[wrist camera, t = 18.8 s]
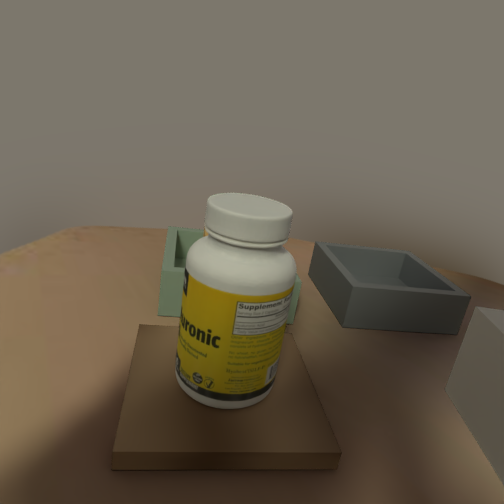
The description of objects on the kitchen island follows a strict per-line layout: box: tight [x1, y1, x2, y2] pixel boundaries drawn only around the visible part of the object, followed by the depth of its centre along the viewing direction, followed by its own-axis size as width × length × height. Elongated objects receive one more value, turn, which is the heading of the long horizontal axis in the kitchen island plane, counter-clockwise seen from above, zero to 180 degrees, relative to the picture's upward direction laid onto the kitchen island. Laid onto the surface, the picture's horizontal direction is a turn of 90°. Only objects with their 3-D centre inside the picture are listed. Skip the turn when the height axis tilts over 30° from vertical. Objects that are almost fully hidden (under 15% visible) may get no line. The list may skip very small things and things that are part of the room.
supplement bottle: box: [175, 193, 296, 409], centre depth 21 cm, size 5×5×10 cm
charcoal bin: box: [308, 242, 471, 335], centre depth 37 cm, size 10×10×4 cm
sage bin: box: [158, 226, 302, 324], centre depth 34 cm, size 10×10×4 cm
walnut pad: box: [111, 324, 342, 470], centre depth 23 cm, size 10×10×1 cm
